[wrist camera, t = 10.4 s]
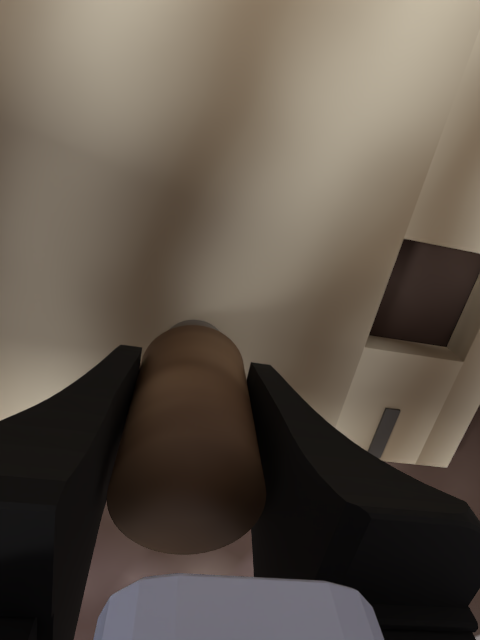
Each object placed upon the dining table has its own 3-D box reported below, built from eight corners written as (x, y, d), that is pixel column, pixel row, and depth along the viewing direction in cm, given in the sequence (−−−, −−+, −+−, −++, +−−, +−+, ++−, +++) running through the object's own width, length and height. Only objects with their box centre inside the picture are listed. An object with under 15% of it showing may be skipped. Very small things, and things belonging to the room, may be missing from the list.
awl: (141, 381, 15) (101, 549, 9) (152, 298, 13) (113, 429, 8) (230, 392, 15) (248, 558, 9) (248, 313, 14) (282, 447, 8)
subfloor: (-19, 398, 16) (-36, 419, 15) (-101, -1180, 6) (-180, -1524, 4) (432, 448, 19) (448, 469, 18) (907, -523, 9) (1019, -627, 7)
